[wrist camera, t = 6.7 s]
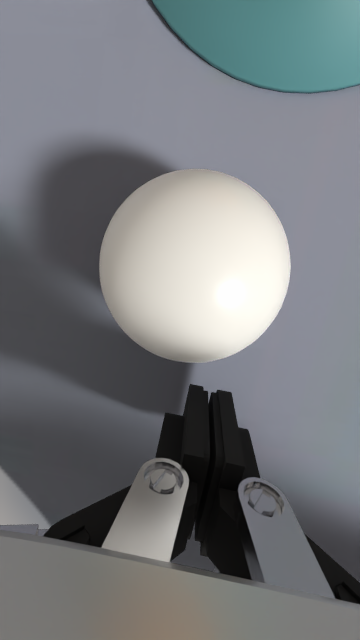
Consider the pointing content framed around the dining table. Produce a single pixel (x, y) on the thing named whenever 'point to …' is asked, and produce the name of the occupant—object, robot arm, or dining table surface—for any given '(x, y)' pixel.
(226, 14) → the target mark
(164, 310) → the white ball
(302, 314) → the dining table surface
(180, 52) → the dining table surface
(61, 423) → the dining table surface
